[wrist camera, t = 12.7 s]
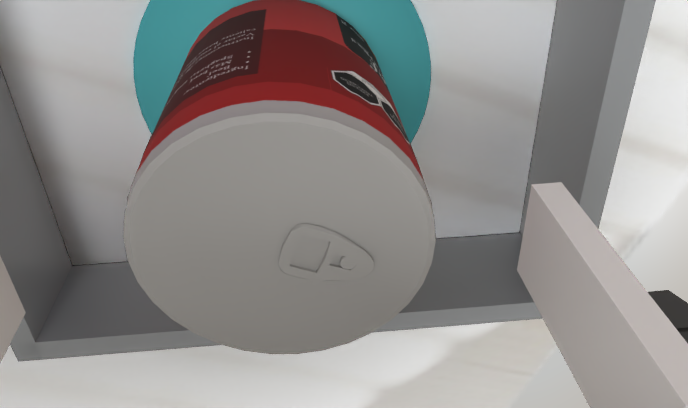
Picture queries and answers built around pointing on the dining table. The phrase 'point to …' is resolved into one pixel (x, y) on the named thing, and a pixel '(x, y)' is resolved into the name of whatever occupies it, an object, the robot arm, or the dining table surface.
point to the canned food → (279, 187)
